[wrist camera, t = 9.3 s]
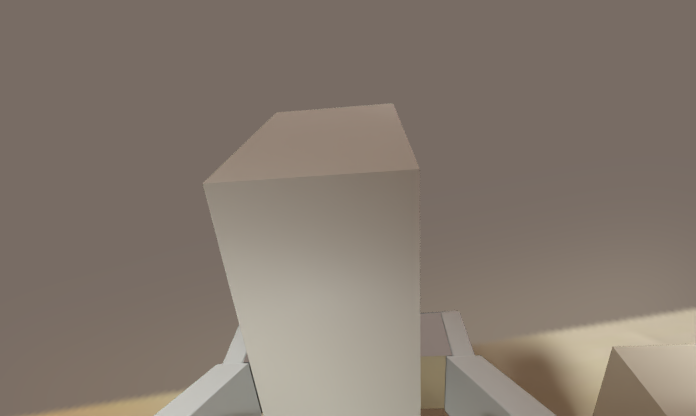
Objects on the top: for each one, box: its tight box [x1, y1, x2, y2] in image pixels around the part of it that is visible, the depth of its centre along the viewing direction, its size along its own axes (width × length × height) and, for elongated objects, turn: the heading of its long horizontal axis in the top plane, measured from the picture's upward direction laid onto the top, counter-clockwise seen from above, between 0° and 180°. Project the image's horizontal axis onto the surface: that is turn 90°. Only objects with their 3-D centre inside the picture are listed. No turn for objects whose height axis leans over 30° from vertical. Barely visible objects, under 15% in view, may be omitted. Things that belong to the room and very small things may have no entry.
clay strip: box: [203, 103, 421, 416], centre depth 10 cm, size 3×5×14 cm, turn 178°
